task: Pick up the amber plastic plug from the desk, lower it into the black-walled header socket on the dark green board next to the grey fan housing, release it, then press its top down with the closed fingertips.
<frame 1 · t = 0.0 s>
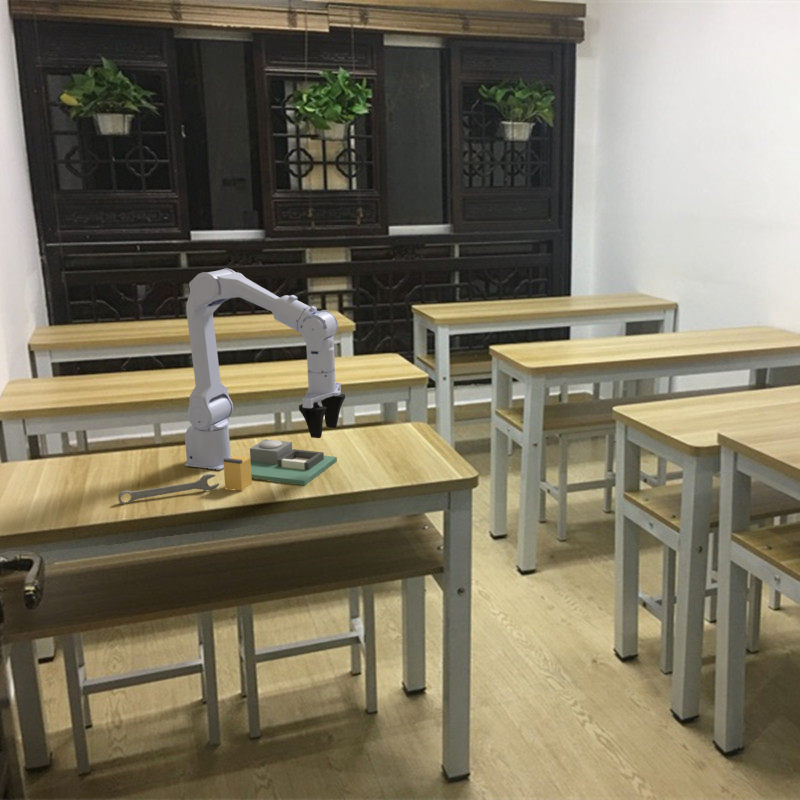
hand: (323, 432, 169), 10 cm above the table, tool pointing down, fingers open, 7 cm apart
combination wrench: (170, 498, 162), on the table
board: (285, 468, 177), on the table
plug: (238, 486, 167), on the table
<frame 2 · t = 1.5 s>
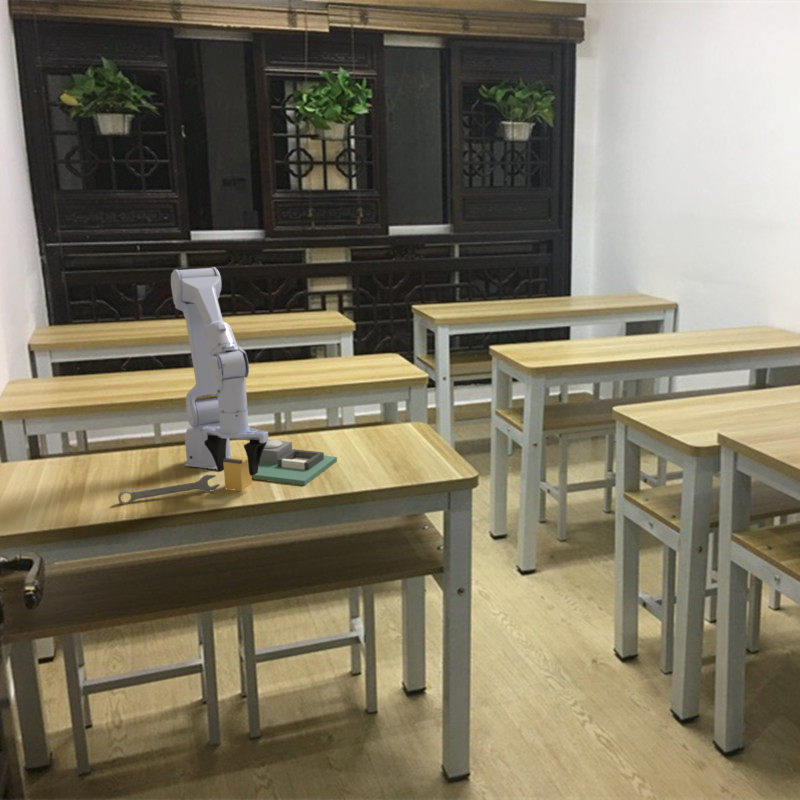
hand: (237, 472, 166), 3 cm above the table, tool pointing down, fingers open, 7 cm apart
nothing on the table moved.
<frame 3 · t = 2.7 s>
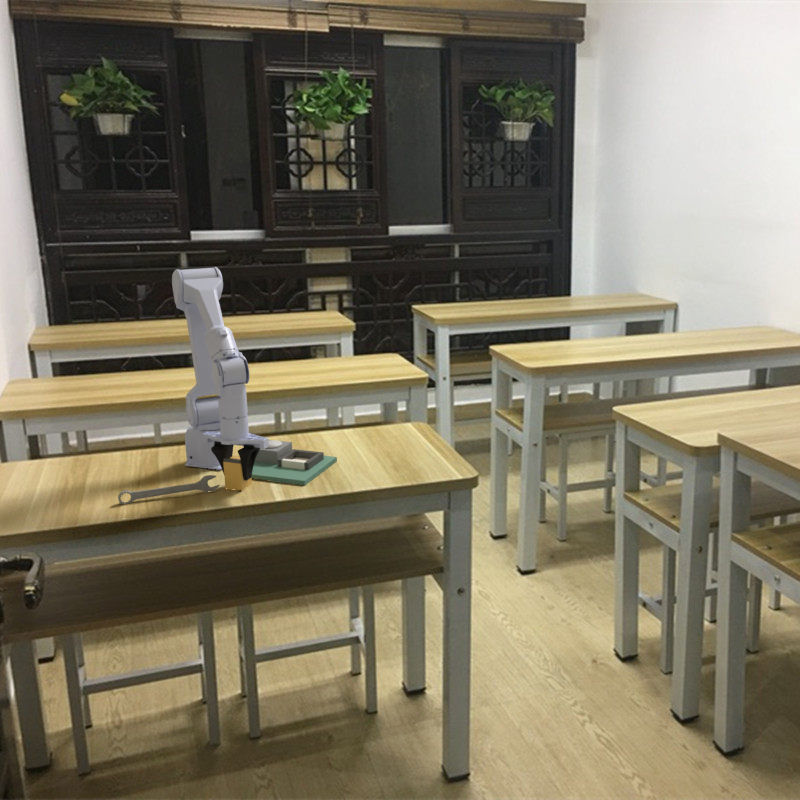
hand: (238, 477, 166), 2 cm above the table, tool pointing down, fingers closed on plug, 4 cm apart
plug: (238, 486, 167), on the table, touching gripper
everything else where it was.
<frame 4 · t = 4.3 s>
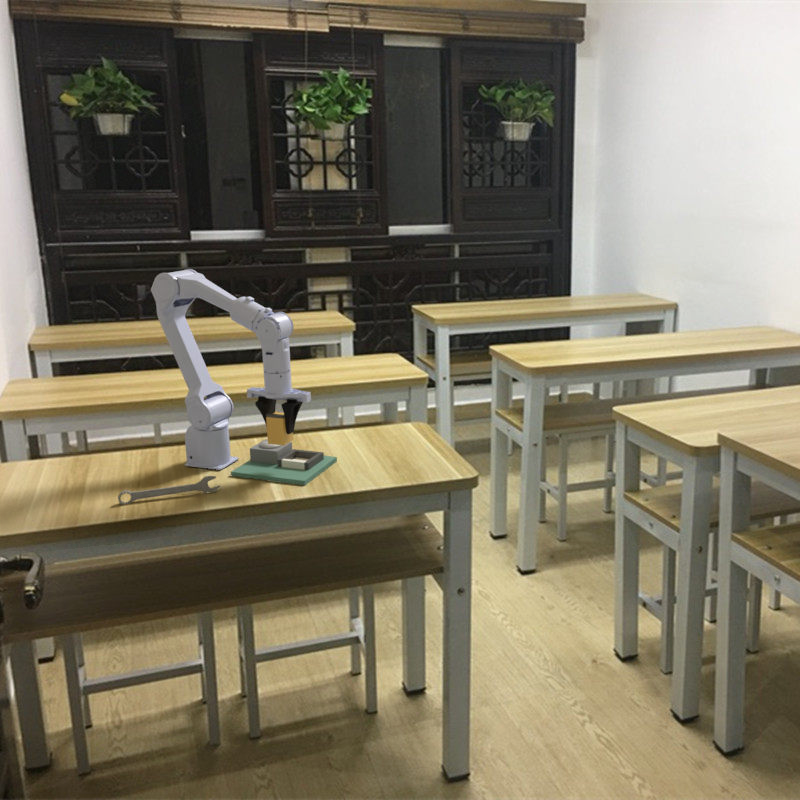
hand: (280, 431, 172), 9 cm above the table, tool pointing down, fingers closed on plug, 4 cm apart
plug: (280, 441, 172), point 7 cm above the table, touching gripper
everything else where it was.
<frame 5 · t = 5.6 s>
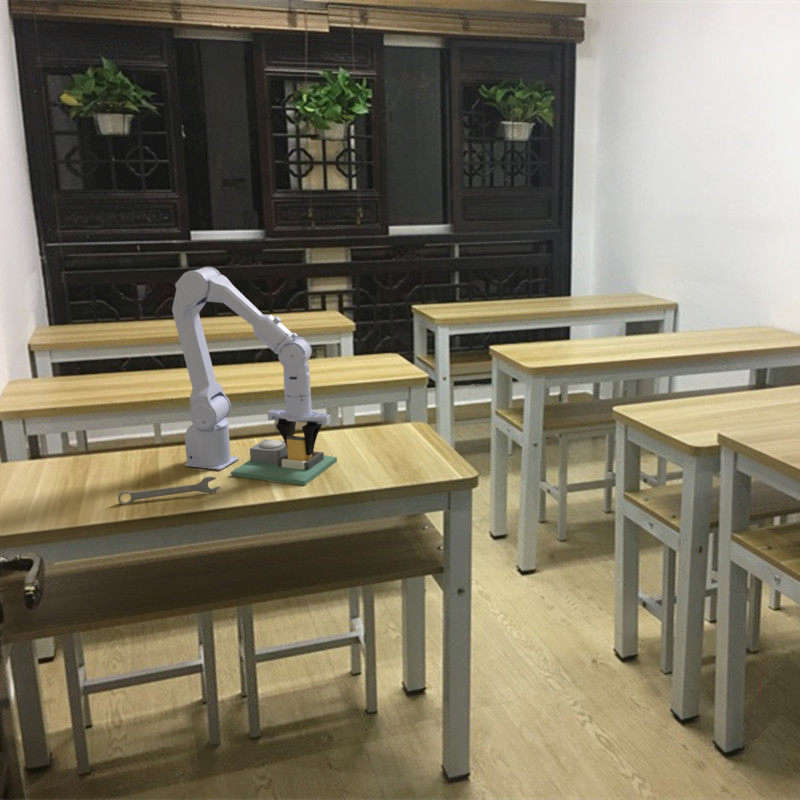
hand: (300, 452, 177), 3 cm above the table, tool pointing down, fingers closed on plug, 4 cm apart
plug: (300, 462, 177), point 1 cm above the table, touching board, gripper
everything else where it was.
when the fingers open (3 cm above the table, at t = 6.3 s): plug stays where it is, resting on board.
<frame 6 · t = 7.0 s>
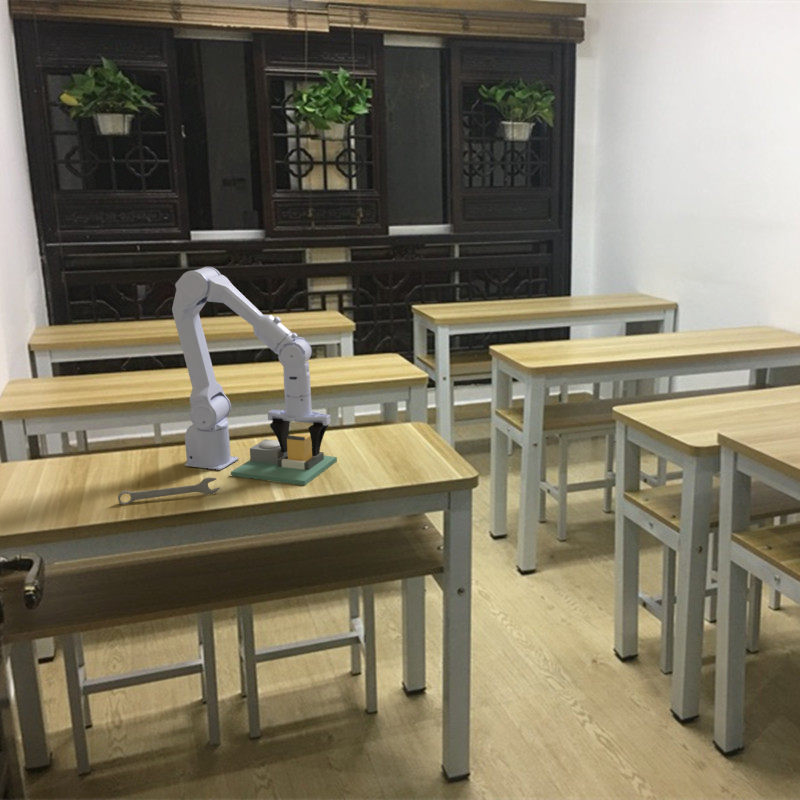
hand: (300, 452, 177), 3 cm above the table, tool pointing down, fingers open, 7 cm apart
plug: (300, 462, 177), point 1 cm above the table, touching board
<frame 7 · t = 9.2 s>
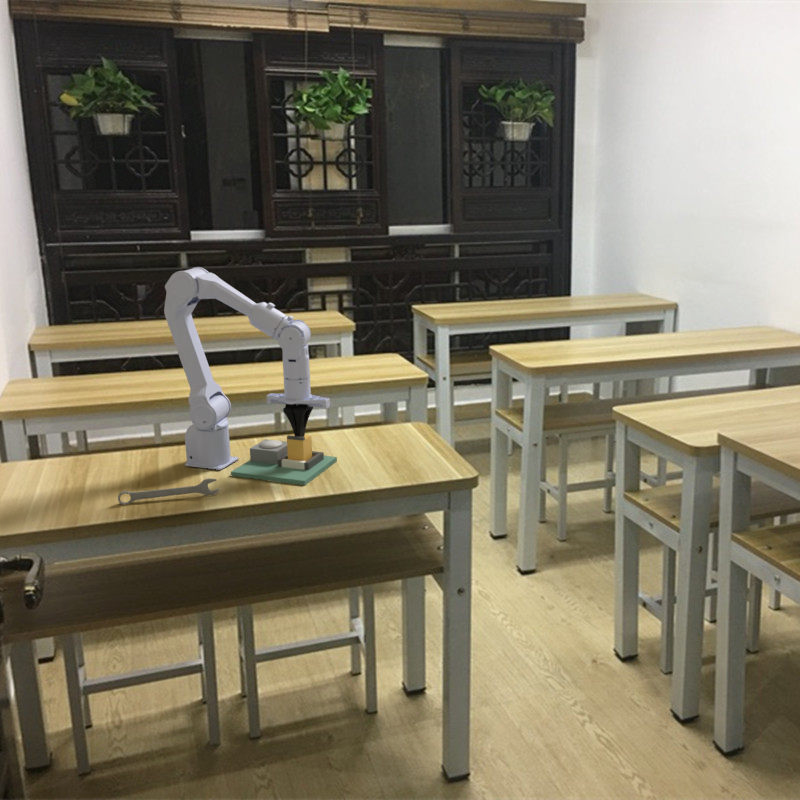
hand: (299, 436, 176), 7 cm above the table, tool pointing down, fingers closed
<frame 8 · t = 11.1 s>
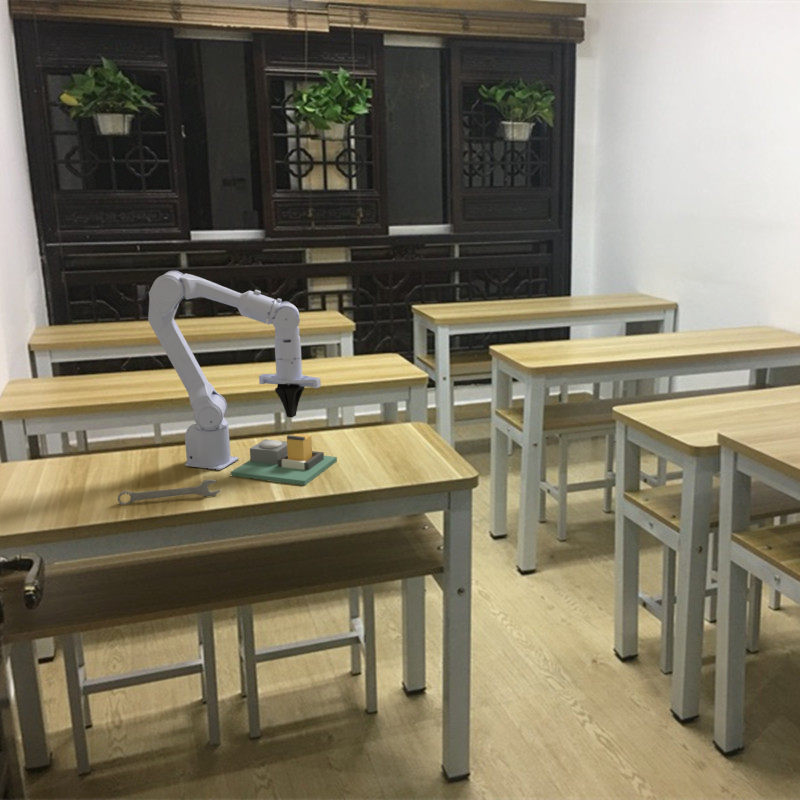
hand: (291, 416, 180), 10 cm above the table, tool pointing down, fingers closed
at the end: plug 0.4 cm from the target spot on the board, point 1.1 cm above the board's base; plug tilted 0°; the gripper is holding nothing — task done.
